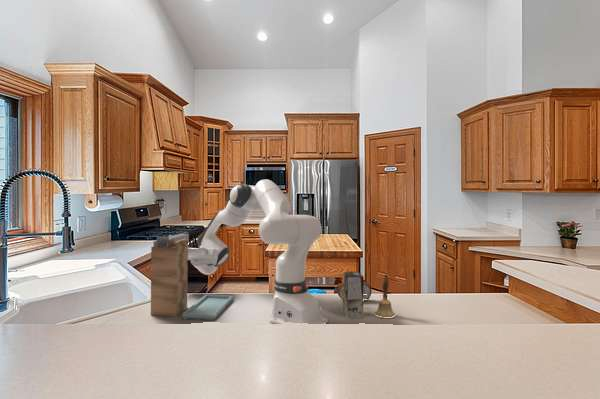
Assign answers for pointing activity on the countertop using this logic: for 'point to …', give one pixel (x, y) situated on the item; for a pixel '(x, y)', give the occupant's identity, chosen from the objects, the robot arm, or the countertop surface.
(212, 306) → the tray
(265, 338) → the countertop surface
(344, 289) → the coffee box
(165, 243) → the gray rectangular bar
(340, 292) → the tin
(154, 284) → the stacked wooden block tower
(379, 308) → the hand bell
